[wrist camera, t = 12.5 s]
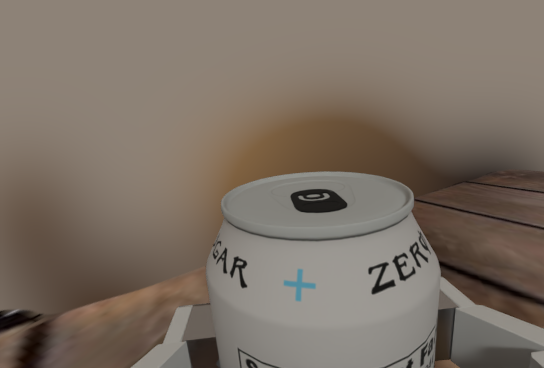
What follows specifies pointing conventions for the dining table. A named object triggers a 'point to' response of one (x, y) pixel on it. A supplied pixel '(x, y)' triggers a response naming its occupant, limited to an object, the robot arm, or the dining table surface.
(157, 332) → the dining table surface
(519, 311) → the dining table surface
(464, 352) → the robot arm
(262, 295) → the energy drink can
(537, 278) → the dining table surface
